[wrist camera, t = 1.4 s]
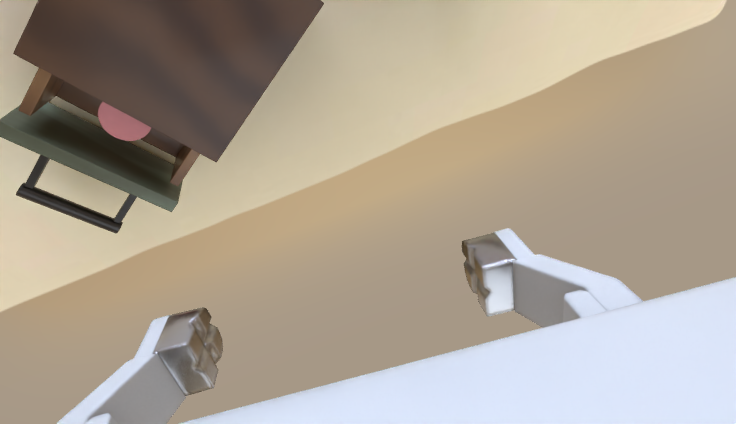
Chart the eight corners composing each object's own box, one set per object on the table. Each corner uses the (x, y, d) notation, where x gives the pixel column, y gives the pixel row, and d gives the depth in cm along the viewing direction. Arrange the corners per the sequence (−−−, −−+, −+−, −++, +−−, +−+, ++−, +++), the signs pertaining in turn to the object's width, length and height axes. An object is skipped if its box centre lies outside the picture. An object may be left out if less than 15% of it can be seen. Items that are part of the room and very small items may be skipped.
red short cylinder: (102, 97, 36) (85, 115, 31) (133, 70, 35) (121, 84, 31) (139, 129, 38) (129, 150, 34) (170, 103, 37) (162, 121, 33)
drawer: (153, 218, 44) (142, 256, 38) (3, 156, 37) (-37, 191, 31) (255, 63, 39) (259, 80, 33) (104, -45, 32) (78, -45, 26)
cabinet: (218, 128, 42) (216, 162, 35) (57, 34, 34) (12, 53, 27) (306, -5, 38) (324, 3, 31) (146, -146, 30) (121, -177, 23)
